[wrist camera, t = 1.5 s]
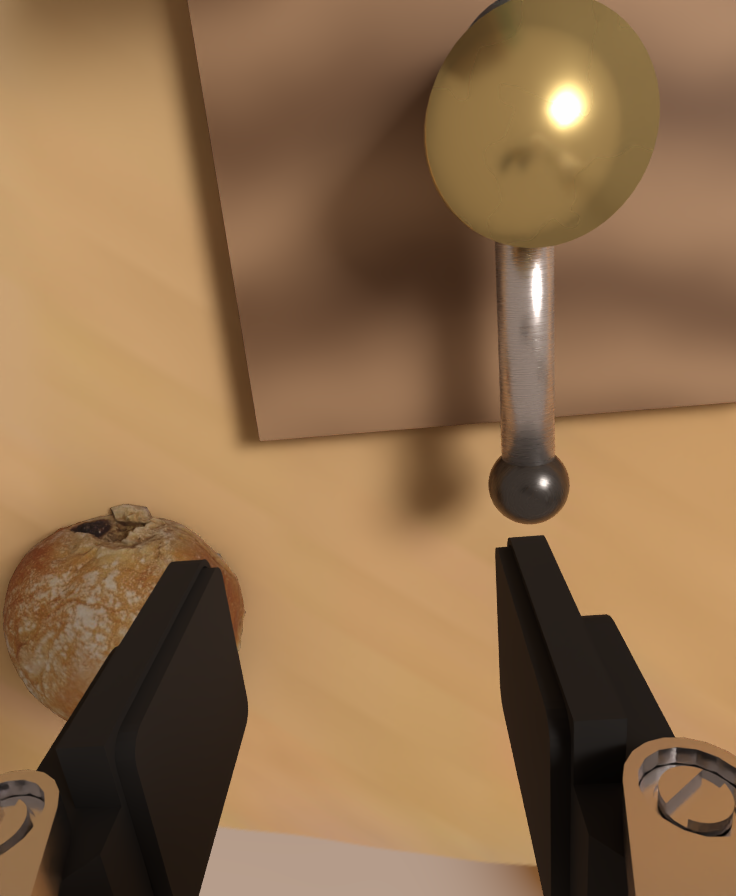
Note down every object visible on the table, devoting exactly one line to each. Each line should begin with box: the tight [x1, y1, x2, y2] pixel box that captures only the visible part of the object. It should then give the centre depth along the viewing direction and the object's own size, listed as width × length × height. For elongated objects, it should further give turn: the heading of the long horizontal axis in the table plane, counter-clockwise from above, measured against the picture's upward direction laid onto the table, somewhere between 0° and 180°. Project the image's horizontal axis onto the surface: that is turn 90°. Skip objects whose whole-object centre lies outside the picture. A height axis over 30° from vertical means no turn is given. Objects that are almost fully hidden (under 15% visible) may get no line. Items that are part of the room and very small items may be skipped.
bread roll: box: [3, 504, 246, 721], centre depth 29 cm, size 10×10×8 cm
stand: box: [187, 0, 736, 441], centre depth 19 cm, size 22×20×10 cm
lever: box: [424, 0, 660, 524], centre depth 21 cm, size 16×6×5 cm, turn 6°
